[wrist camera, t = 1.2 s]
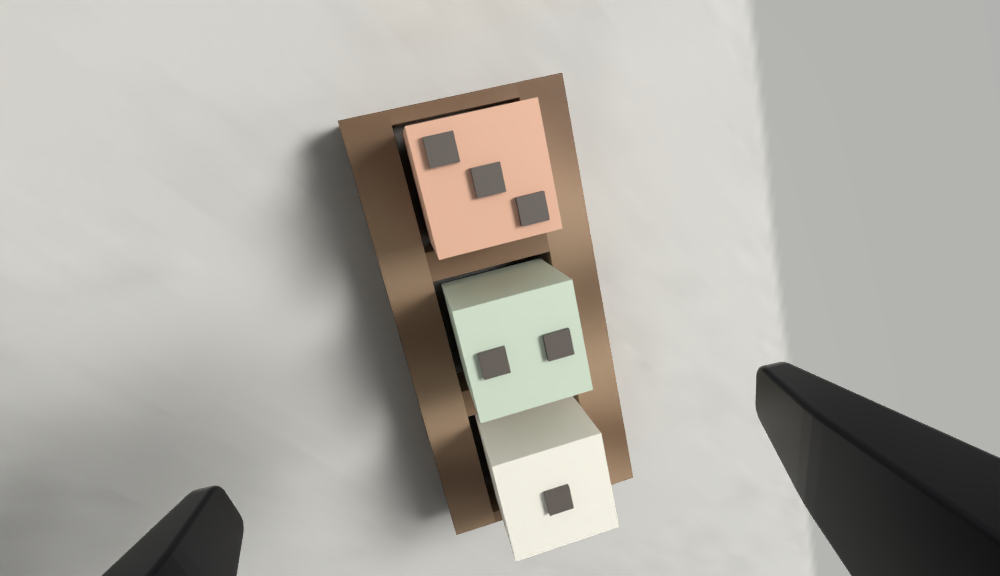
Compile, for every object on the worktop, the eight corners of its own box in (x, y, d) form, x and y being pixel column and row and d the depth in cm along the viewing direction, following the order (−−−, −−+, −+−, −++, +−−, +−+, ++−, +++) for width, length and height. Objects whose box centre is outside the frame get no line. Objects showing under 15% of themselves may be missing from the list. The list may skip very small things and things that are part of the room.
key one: (582, 468, 24) (621, 530, 20) (495, 495, 23) (517, 565, 19) (565, 387, 23) (603, 435, 19) (474, 414, 22) (492, 470, 18)
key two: (558, 350, 22) (595, 392, 18) (465, 377, 22) (481, 426, 18) (539, 258, 21) (574, 280, 17) (441, 284, 21) (452, 313, 17)
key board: (615, 453, 26) (632, 477, 24) (451, 505, 25) (456, 534, 23) (546, 80, 21) (562, 72, 19) (343, 124, 20) (337, 120, 18)
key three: (531, 215, 21) (564, 229, 17) (429, 241, 20) (439, 261, 16) (509, 109, 20) (539, 96, 16) (402, 133, 19) (404, 126, 15)
